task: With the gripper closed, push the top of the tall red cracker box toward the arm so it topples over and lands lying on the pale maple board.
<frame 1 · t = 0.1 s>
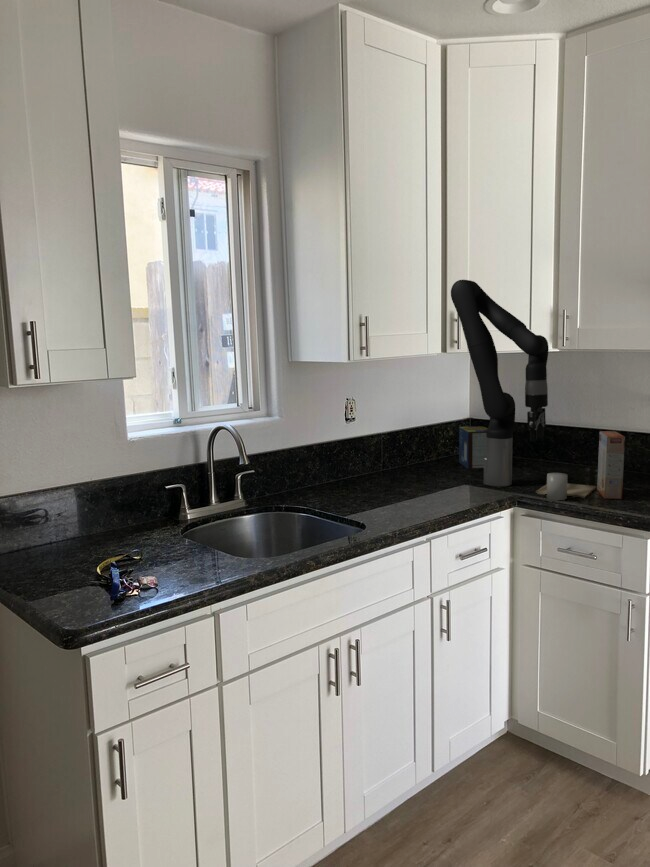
hand: (536, 439, 252), 17 cm above the countertop, tool pointing down, fingers open, 8 cm apart
protein box: (475, 466, 300), on the countertop
white rounded dome: (556, 498, 237), on the countertop
cracker box: (609, 495, 241), on the countertop
maple board: (566, 490, 248), on the countertop
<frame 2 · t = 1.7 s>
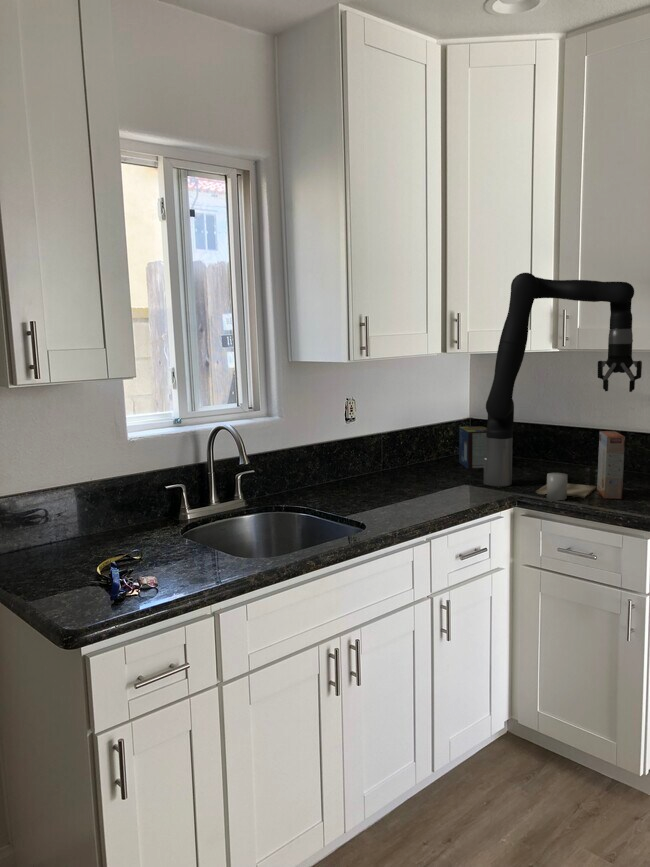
hand: (618, 391, 245), 34 cm above the countertop, tool pointing down, fingers open, 7 cm apart
nothing on the countertop moved.
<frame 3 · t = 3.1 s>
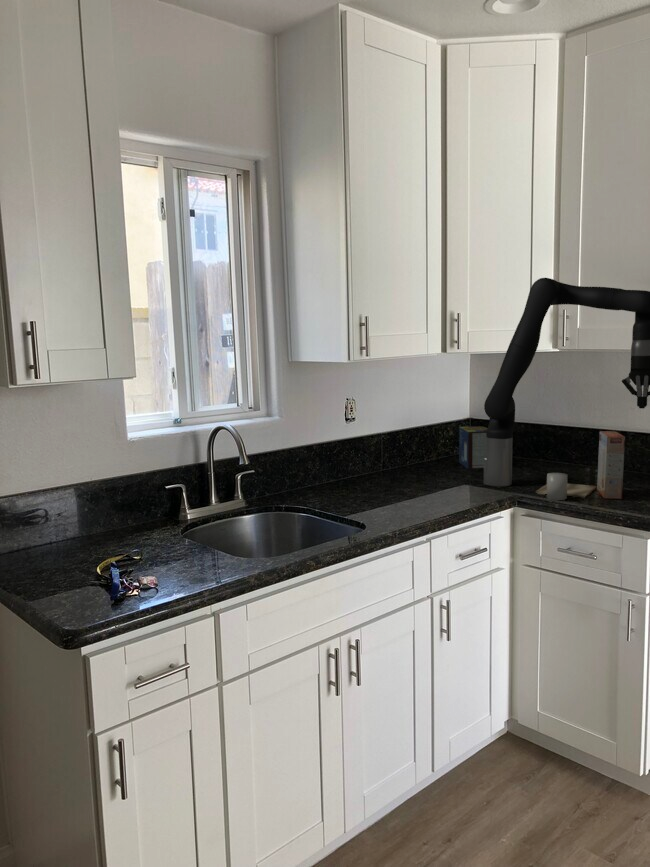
hand: (642, 408, 233), 30 cm above the countertop, tool pointing down, fingers closed
nothing on the countertop moved.
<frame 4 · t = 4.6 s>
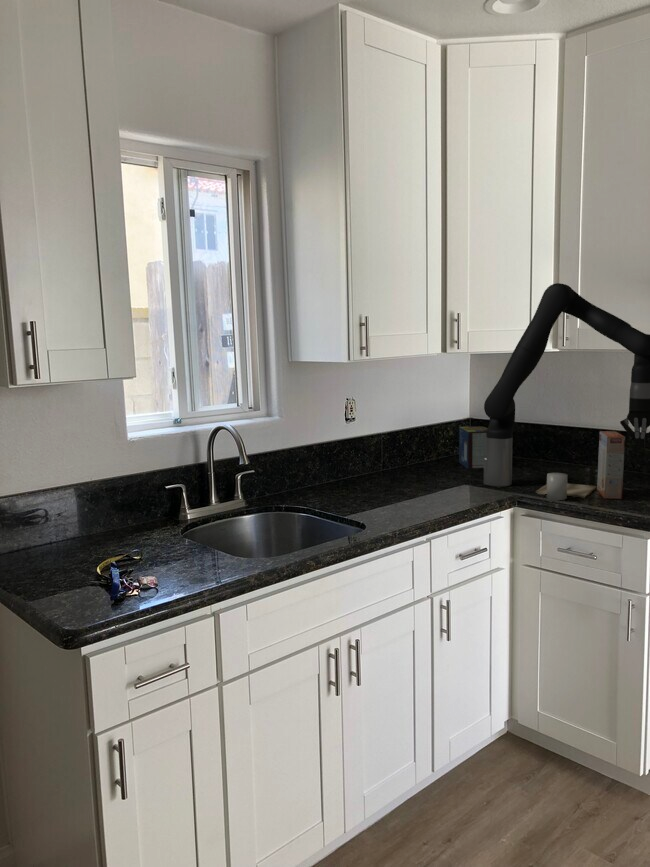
hand: (639, 449, 234), 16 cm above the countertop, tool pointing down, fingers closed
nothing on the countertop moved.
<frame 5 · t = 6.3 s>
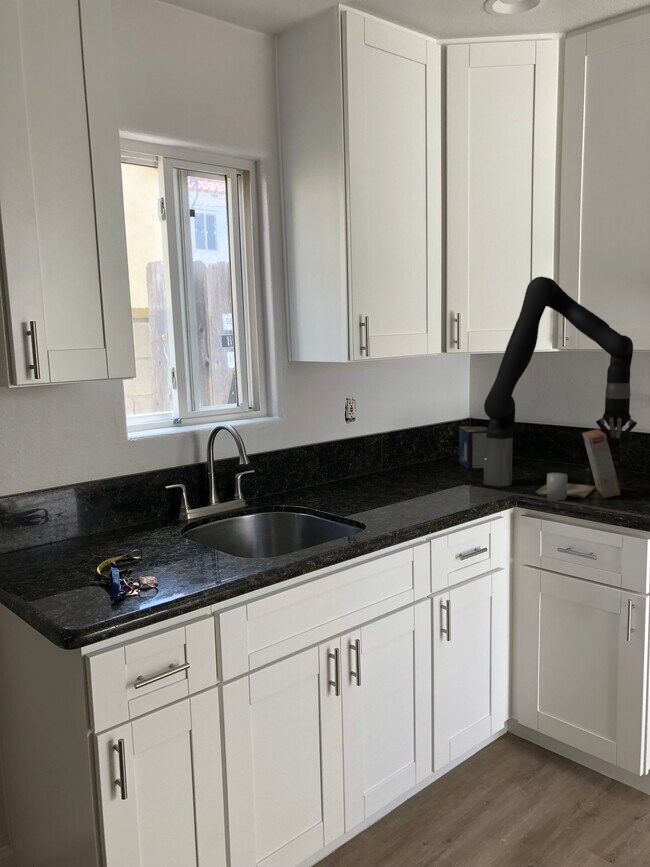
hand: (615, 448, 238), 16 cm above the countertop, tool pointing down, fingers closed
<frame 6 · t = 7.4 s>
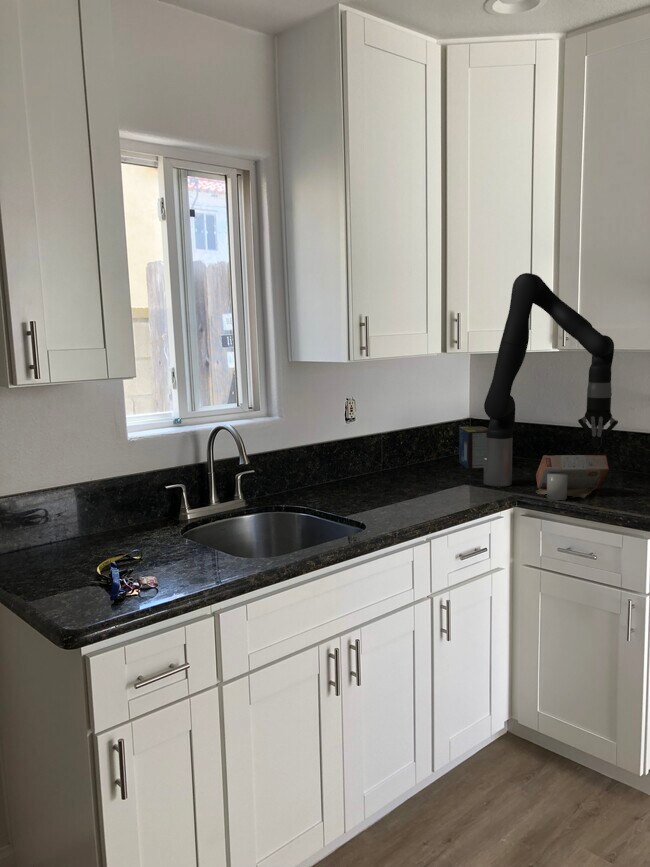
hand: (596, 447, 241), 16 cm above the countertop, tool pointing down, fingers closed
white rounded dome: (556, 498, 237), on the countertop, touching cracker box
cracker box: (603, 471, 244), point 7 cm above the countertop, touching white rounded dome, maple board
everything else where it was.
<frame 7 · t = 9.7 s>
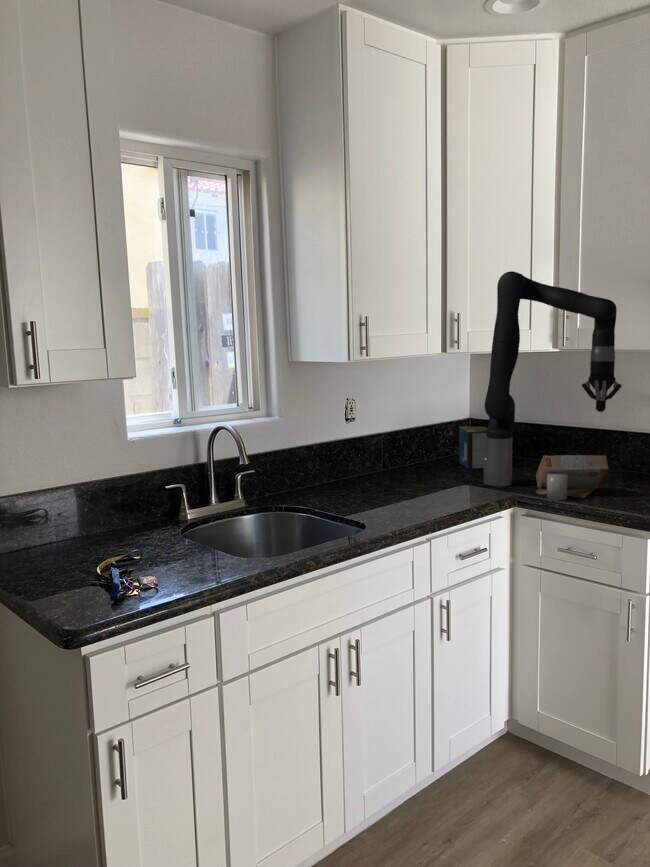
hand: (600, 411, 242), 28 cm above the countertop, tool pointing down, fingers closed
nothing on the countertop moved.
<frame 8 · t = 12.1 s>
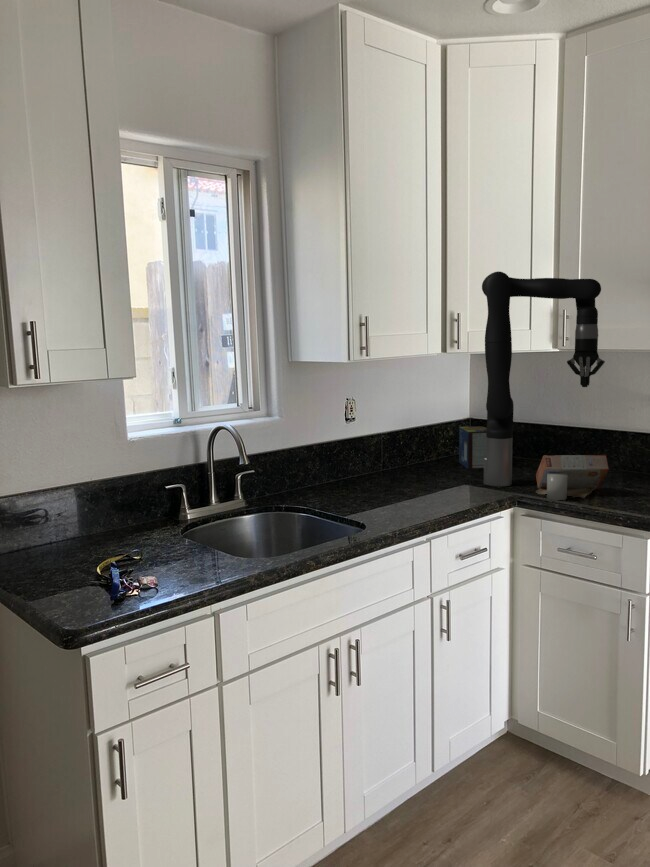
hand: (584, 386, 254), 35 cm above the countertop, tool pointing down, fingers closed
white rounded dome: (556, 498, 237), on the countertop
cracker box: (603, 471, 244), point 7 cm above the countertop, touching maple board
everything else where it was.
at the end: cracker box tilted 90°; cracker box inside the target area (11.6 cm from its centre), point 7.3 cm above the countertop; the gripper is holding nothing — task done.
